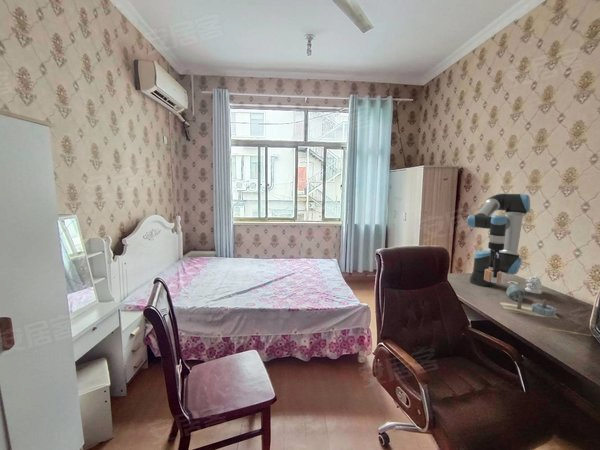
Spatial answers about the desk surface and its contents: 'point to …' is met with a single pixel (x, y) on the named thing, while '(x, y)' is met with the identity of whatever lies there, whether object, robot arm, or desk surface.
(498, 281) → the loose gear
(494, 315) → the desk surface
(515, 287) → the spool
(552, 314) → the gear
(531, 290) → the figurine
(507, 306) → the gear board
